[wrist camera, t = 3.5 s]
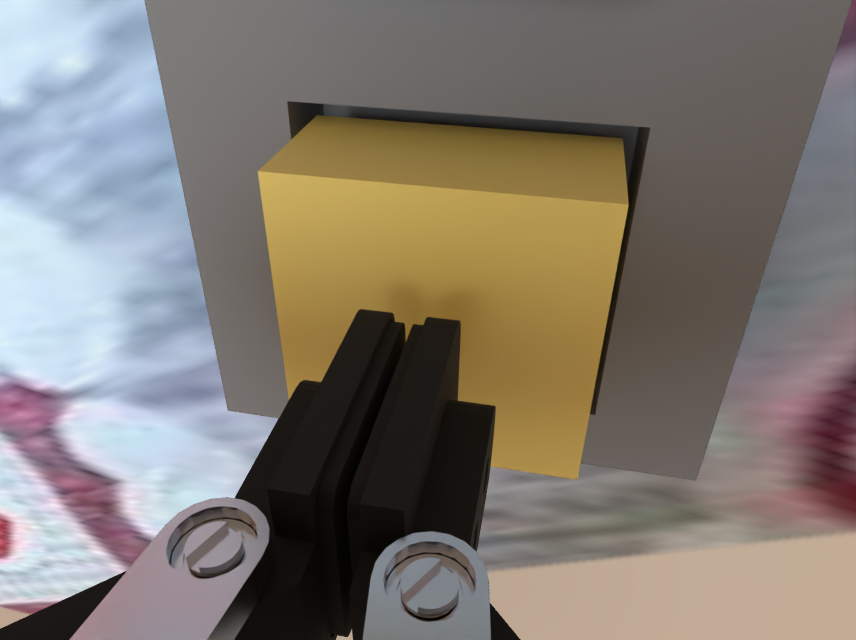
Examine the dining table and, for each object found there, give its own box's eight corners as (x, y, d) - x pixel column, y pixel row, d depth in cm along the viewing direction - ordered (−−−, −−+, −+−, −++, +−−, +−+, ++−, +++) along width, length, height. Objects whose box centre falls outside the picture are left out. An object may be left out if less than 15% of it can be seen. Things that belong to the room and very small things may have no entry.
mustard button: (622, 137, 13) (629, 204, 11) (580, 385, 16) (577, 479, 14) (317, 115, 14) (257, 171, 12) (336, 353, 17) (293, 436, 15)
